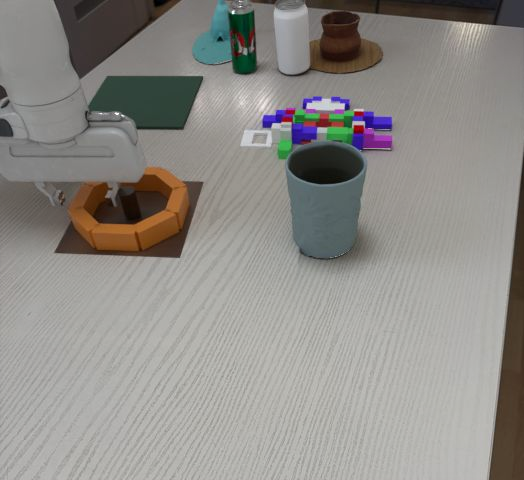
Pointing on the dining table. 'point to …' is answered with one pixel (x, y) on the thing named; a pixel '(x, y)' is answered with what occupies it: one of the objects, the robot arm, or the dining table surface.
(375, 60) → the ceramic pot
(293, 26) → the can
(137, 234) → the ring
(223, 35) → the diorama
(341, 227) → the grey blue cup
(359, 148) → the building block set
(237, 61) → the soda can
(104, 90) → the mat
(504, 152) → the dining table surface
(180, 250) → the ring toss
